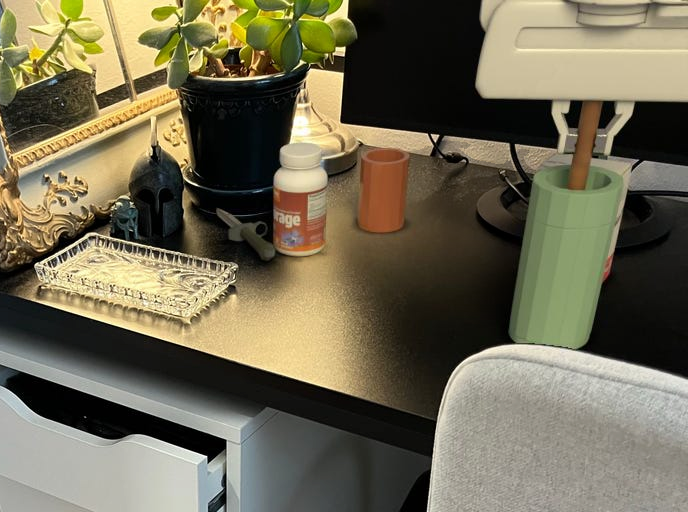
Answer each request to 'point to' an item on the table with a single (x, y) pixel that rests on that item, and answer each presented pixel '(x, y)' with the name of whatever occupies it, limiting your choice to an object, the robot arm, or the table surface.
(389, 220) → the brush cup
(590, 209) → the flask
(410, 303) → the table surface
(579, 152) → the brush
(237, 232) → the knife
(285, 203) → the pill bottle
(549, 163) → the ink box
